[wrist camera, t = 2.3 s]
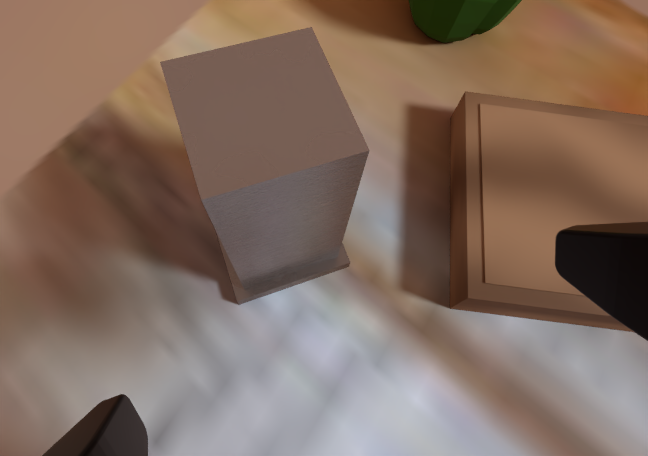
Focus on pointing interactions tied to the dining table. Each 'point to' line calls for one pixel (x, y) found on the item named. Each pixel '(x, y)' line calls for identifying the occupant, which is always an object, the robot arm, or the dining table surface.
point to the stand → (536, 200)
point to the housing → (270, 157)
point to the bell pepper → (459, 17)
